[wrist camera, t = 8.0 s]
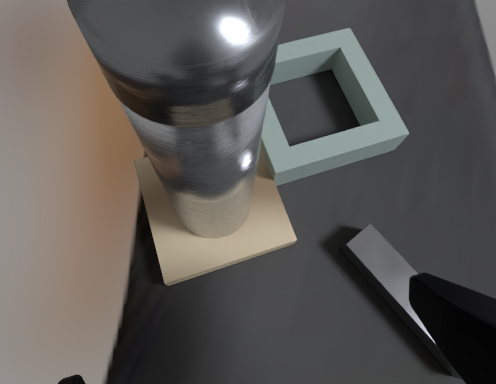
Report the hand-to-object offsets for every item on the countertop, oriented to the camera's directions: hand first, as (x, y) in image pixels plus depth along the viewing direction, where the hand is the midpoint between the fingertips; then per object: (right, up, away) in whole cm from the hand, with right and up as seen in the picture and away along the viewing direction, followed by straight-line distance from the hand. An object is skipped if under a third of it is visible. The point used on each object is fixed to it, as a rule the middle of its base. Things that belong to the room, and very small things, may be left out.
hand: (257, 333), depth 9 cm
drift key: (+8, -2, +9) cm, 12 cm away
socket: (+4, +9, +13) cm, 16 cm away
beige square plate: (-2, +3, +10) cm, 11 cm away
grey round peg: (-2, +3, +9) cm, 10 cm away
